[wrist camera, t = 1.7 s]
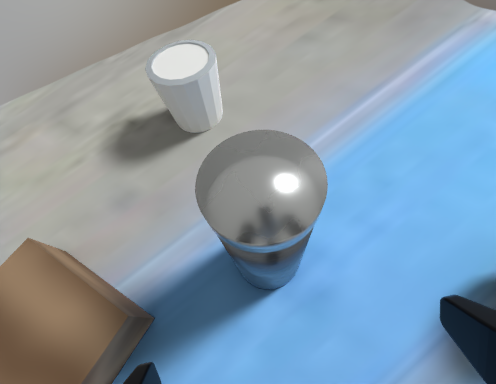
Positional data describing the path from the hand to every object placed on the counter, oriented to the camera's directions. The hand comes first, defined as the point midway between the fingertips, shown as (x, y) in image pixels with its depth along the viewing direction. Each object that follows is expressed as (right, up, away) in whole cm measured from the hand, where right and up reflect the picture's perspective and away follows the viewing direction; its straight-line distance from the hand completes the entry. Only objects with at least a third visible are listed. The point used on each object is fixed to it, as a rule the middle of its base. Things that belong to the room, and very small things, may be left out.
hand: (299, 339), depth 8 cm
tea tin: (0, -1, +13) cm, 13 cm away
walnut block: (-16, -7, +12) cm, 21 cm away
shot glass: (-7, +14, +22) cm, 27 cm away
